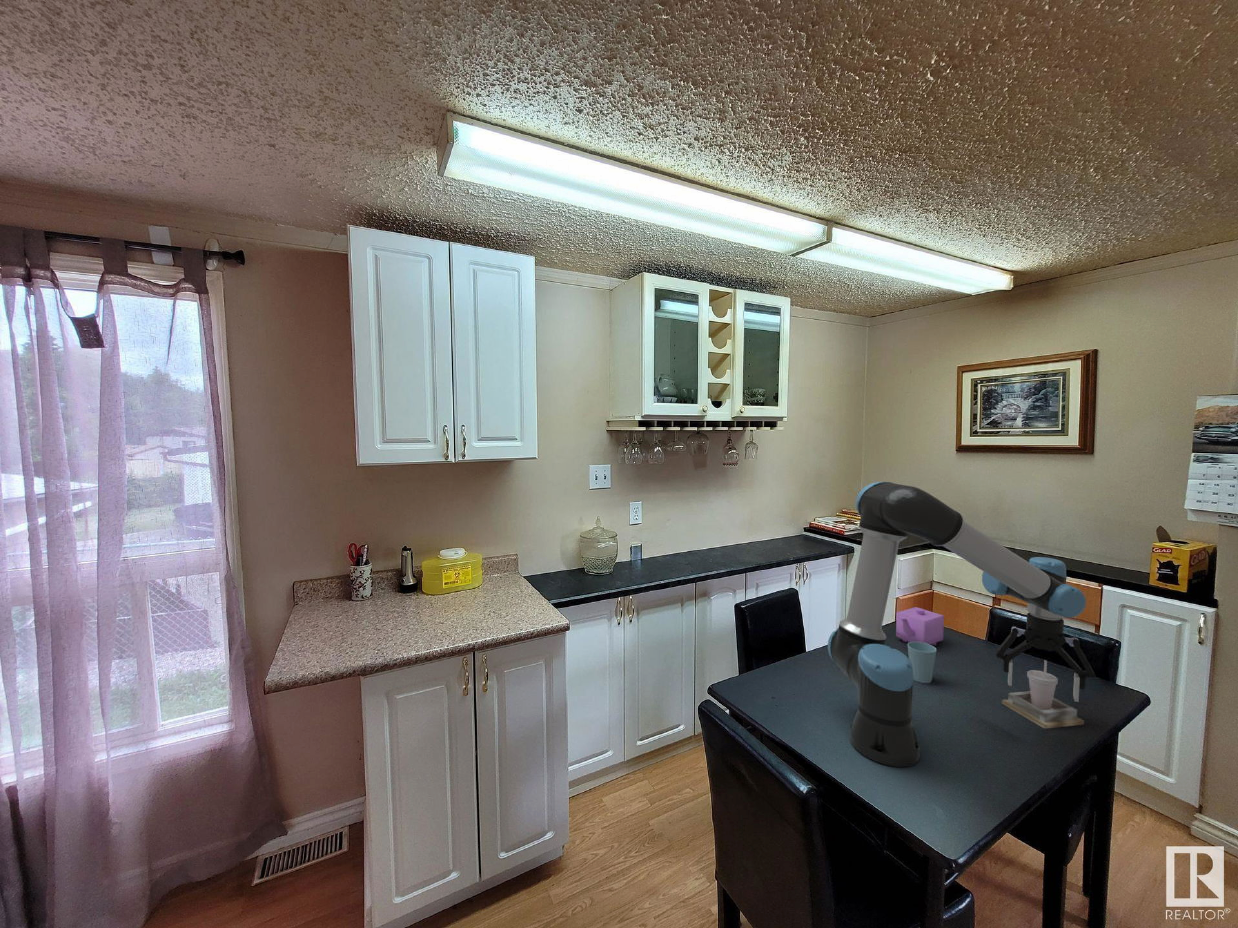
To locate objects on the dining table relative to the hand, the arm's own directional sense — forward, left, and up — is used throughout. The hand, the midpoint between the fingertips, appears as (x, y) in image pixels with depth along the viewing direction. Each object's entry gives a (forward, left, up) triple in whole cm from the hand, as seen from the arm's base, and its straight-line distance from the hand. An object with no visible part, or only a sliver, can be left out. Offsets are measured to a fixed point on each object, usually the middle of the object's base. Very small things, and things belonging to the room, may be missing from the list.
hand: (1041, 691), depth 131 cm
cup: (-18, +22, -7) cm, 29 cm away
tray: (0, 0, -6) cm, 6 cm away
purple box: (0, +46, -7) cm, 46 cm away
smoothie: (0, 0, -5) cm, 5 cm away
